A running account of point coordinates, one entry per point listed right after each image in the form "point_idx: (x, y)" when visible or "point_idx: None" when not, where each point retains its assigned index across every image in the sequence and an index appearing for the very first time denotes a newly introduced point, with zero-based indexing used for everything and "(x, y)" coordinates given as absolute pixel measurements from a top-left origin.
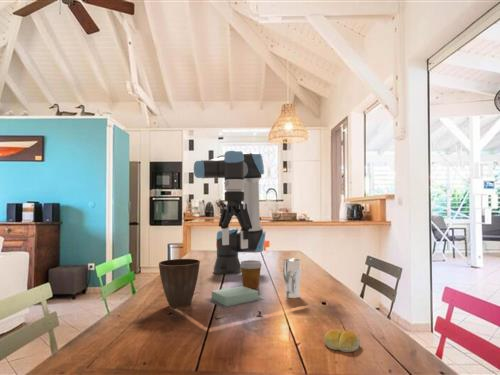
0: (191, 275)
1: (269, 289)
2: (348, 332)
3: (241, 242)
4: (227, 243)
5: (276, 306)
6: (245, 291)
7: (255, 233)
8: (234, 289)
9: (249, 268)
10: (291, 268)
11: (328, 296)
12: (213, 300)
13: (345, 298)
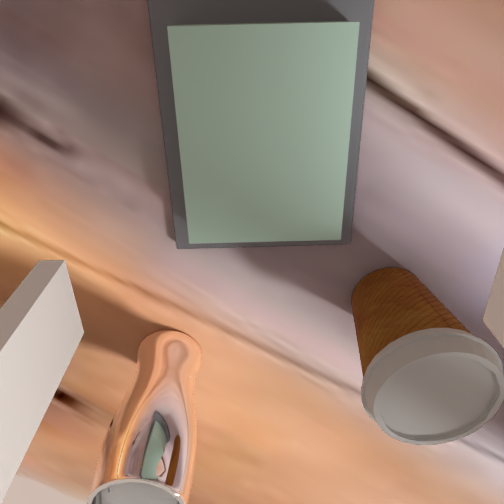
0: None
1: (338, 358)
2: None
3: (10, 306)
4: (496, 314)
5: (99, 248)
6: (226, 192)
7: None
8: (300, 164)
9: (385, 348)
10: (104, 450)
11: None
12: (315, 15)
13: (79, 467)
